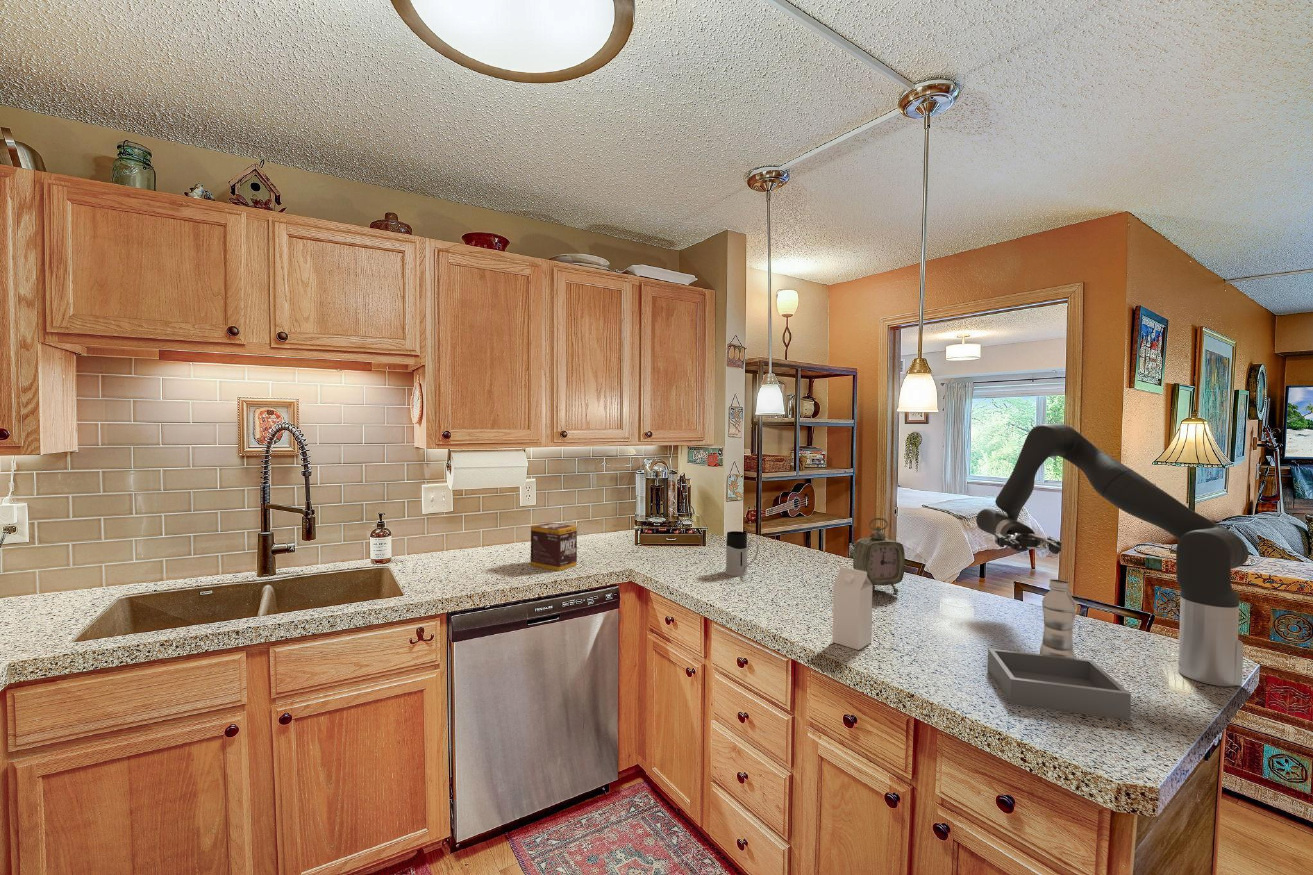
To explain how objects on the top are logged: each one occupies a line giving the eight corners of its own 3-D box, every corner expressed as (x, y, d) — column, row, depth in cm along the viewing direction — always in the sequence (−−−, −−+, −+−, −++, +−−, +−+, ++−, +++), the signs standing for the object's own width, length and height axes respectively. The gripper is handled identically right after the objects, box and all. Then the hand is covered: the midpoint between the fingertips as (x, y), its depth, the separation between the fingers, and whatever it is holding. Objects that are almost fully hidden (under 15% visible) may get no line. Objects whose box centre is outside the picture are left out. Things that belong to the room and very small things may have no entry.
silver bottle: (1040, 658, 133) (1042, 575, 132) (1075, 666, 129) (1078, 581, 128) (1037, 667, 128) (1040, 581, 127) (1074, 675, 124) (1077, 587, 123)
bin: (1091, 682, 120) (1092, 659, 120) (1130, 720, 105) (1130, 694, 105) (987, 669, 126) (988, 648, 126) (1010, 703, 111) (1010, 679, 111)
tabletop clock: (864, 597, 179) (866, 520, 179) (849, 588, 188) (850, 515, 188) (904, 594, 182) (905, 519, 182) (887, 586, 191) (888, 514, 191)
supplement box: (559, 571, 207) (559, 530, 207) (530, 565, 216) (530, 525, 215) (577, 565, 216) (577, 526, 216) (548, 560, 224) (549, 521, 224)
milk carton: (845, 635, 146) (846, 564, 146) (871, 643, 141) (872, 569, 141) (832, 642, 141) (833, 568, 141) (858, 650, 136) (860, 574, 136)
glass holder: (734, 568, 214) (735, 529, 213) (765, 576, 203) (765, 535, 203) (720, 572, 208) (720, 532, 207) (750, 580, 197) (750, 538, 197)
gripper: (987, 519, 158) (1006, 532, 142) (1044, 523, 154) (1071, 536, 138) (985, 545, 158) (1005, 560, 143) (1042, 549, 154) (1069, 565, 139)
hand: (1037, 548), depth 141 cm, fingers open, 8 cm apart
